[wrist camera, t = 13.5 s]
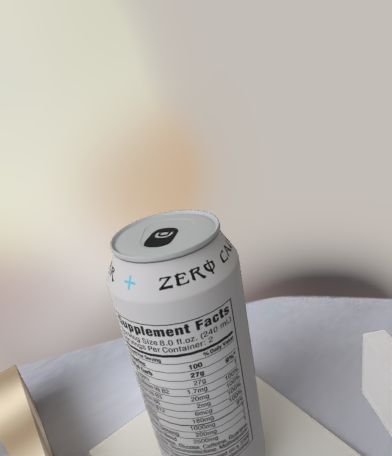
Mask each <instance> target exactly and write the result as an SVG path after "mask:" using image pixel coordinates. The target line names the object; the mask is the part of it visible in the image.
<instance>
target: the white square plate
mask: <svg viewBox="0 0 392 456" xmlns="http://www.w3.org/2000/svg"><path fill="white" fill-rule="evenodd" d="M255 376H256V375H255ZM256 383H257V390H258V397H259V404H260V411H261V418H262V425H263V432H264V439H265V455H264V456H361V455H360V454H359V453H357V452H356V451H355V450H353V449H352V448H351V447H349V446H348V445H347V444H346V443H344V442H343V441H342V440H340V439H339V438H338V437H336V436H335V435H334V434H332V433H331V432H330V431H329V430H327V429H326V428H325V427H323V426H322V425H321V424H319V423H318V422H317V421H315V420H314V419H313V418H311V417H310V416H309V415H308V414H306V413H305V412H304V411H302V410H301V409H300V408H298V407H297V406H296V405H294V404H293V403H292V402H291V401H289V400H288V399H287V398H285V397H284V396H283V395H281V394H280V393H279V392H277V391H276V390H275V389H274V388H272V387H271V386H270V385H268V384H267V383H266V382H264V381H263V380H262V379H260V378H259V377H258V376H256ZM89 453H90V456H162V455H161V452H160V449H159V446H158V443H157V440H156V437H155V434H154V430H153V427H152V424H151V421H150V418H149V415H148V412H147V409H146V410H145V411H143V412H142V413H140V414H139V415H138V416H136V417H135V418H134V419H132V420H131V421H129V422H128V423H127V424H125V425H124V426H123V427H121V428H120V429H118V430H117V431H116V432H114V433H113V434H112V435H110V436H109V437H107V438H106V439H105V440H103V441H102V442H101V443H99V444H98V445H96V446H95V447H94V448H92V449H91V450H90V451H89Z"/></svg>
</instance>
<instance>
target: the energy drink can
mask: <svg viewBox="0 0 392 456" xmlns="http://www.w3.org/2000/svg"><path fill="white" fill-rule="evenodd" d="M110 247H111V251H112V252H113V258H112V261H111V265H110V269H109V272H108V276H107V287H108V290H109V293H110V297H111V300H112V303H113V306H114V309H115V312H116V315H117V318H118V322H119V325H120V328H121V331H122V334H123V337H124V340H125V343H126V346H127V350H128V353H129V356H130V359H131V362H132V365H133V368H134V371H135V374H136V378H137V381H138V384H139V387H140V390H141V393H142V396H143V399H144V402H145V406H146V409H147V412H148V415H149V418H150V421H151V424H152V427H153V430H154V434H155V437H156V440H157V443H158V446H159V449H160V452H161V455H162V456H264V455H265V439H264V432H263V425H262V418H261V411H260V404H259V397H258V390H257V383H256V376H255V369H254V362H253V354H252V347H251V340H250V333H249V326H248V319H247V312H246V305H245V298H244V291H243V284H242V277H241V270H240V263H239V256H238V253H237V250H236V249H235V247H234V246H233V245H232V244H231V243H230V241H229V240H228V239H227V238H226V237H225V236H224V235H223V233H222V232H221V230H220V223H219V220H218V218H217V217H216V216H215V215H213V214H211V213H208V212H205V211H199V210H179V211H170V212H164V213H160V214H156V215H152V216H149V217H146V218H143V219H140V220H138V221H135V222H133V223H131V224H129V225H127V226H126V227H124V228H123V229H121V230H120V231H119V232H117V233H116V234H115V235H114V236H113V238H112V240H111V242H110Z"/></svg>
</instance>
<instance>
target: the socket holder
mask: <svg viewBox="0 0 392 456" xmlns="http://www.w3.org/2000/svg"><path fill="white" fill-rule="evenodd" d="M0 440H1V442H2V444H3V445H4V447H5V449H6V451H7V452H8V454H9V456H53V454H52V451H51V448H50V445H49V442H48V440H47V437H46V434H45V431H44V428H43V425H42V423H41V420H40V417H39V414H38V411H37V408H36V406H35V403H34V400H33V398H32V396H31V395H30V393H29V391H28V389H27V387H26V385H25V383H24V381H23V379H22V377H21V375H20V373H19V371H18V369H17V367H16V365H14V366H12V367H10V368H8V369H7V370H5V371H3V372H1V373H0Z"/></svg>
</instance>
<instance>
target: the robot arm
mask: <svg viewBox="0 0 392 456" xmlns="http://www.w3.org/2000/svg"><path fill="white" fill-rule="evenodd" d="M362 393H363V394H364V396H365V397H366V399H367V400H368V402H369V403H370V405H371V407H372V408H373V410H374V411H375V413H376V414H377V416H378V417H379V419H380V420H381V422H382V423H383V425H384V426H385V428H386V429H387V431H388V432H389V434H390V435H391V437H392V337H391V336H390V335H389V334H388V333H387V331H386V330H385V329H383V330H378V331H374V332H369V333H364V334H363V351H362ZM0 456H9V454H8V452H7V451H6V449H5V447H4V445H3V444H2V442H1V440H0Z"/></svg>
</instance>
